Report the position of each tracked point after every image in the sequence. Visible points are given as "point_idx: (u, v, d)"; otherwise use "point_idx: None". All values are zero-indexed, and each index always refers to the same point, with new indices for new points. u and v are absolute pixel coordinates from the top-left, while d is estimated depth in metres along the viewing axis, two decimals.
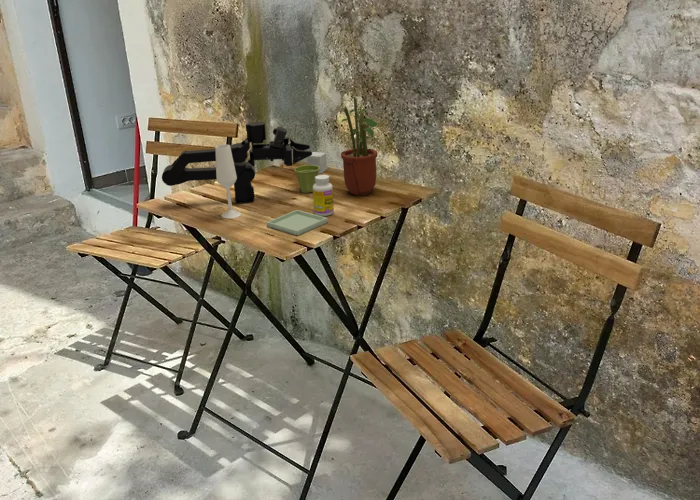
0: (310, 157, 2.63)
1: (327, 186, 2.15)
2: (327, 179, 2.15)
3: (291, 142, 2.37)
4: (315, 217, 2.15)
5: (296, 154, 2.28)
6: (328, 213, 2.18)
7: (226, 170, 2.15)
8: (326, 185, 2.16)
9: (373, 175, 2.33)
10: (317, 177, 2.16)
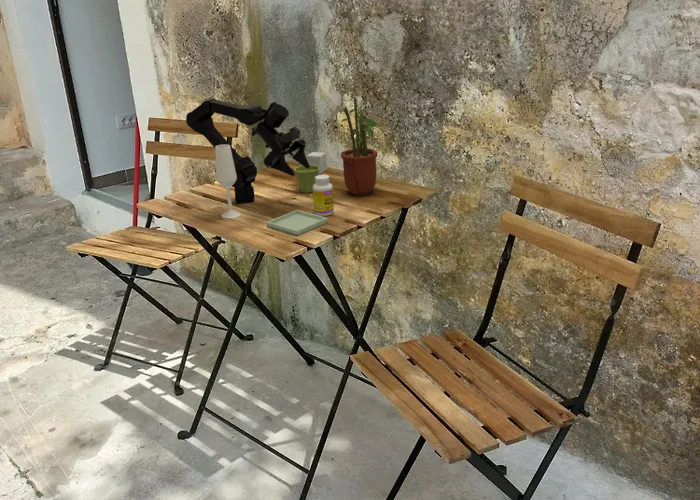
0: (310, 157, 2.63)
1: (327, 186, 2.15)
2: (327, 179, 2.15)
3: (300, 149, 2.23)
4: (315, 217, 2.15)
5: (281, 163, 2.15)
6: (328, 213, 2.18)
7: (226, 170, 2.15)
8: (326, 185, 2.16)
9: (373, 175, 2.33)
10: (317, 177, 2.16)
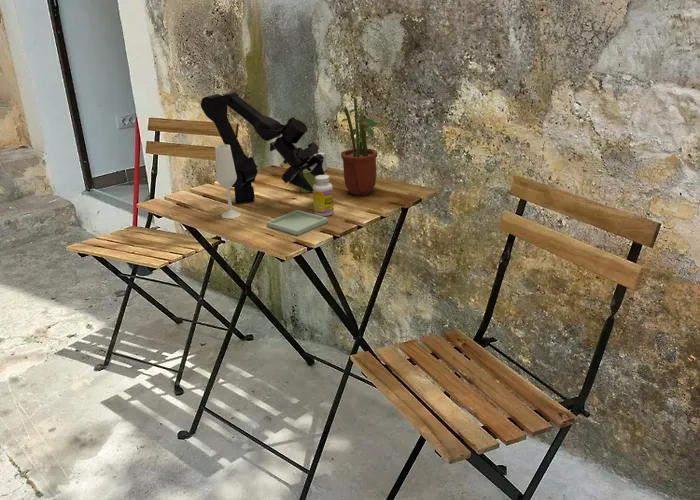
0: None
1: (327, 186, 2.15)
2: (327, 179, 2.15)
3: (318, 165, 2.21)
4: (315, 217, 2.15)
5: (299, 179, 2.14)
6: (328, 213, 2.18)
7: (226, 170, 2.15)
8: (326, 185, 2.16)
9: (373, 175, 2.33)
10: (317, 177, 2.16)
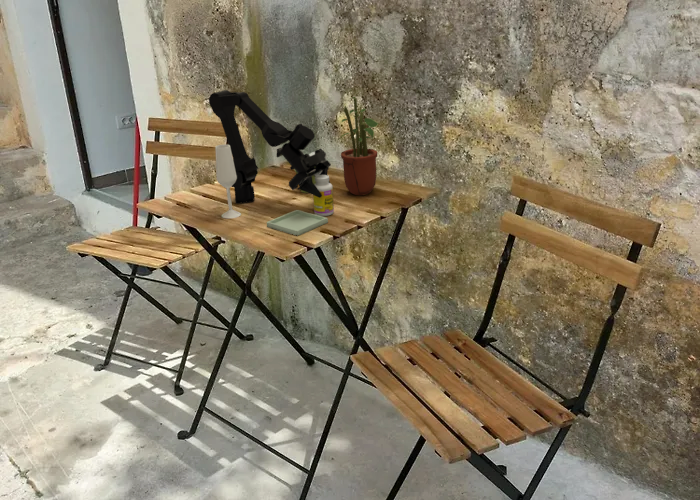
0: None
1: (327, 186, 2.15)
2: (327, 179, 2.15)
3: (323, 172, 2.20)
4: (315, 217, 2.15)
5: (308, 184, 2.14)
6: (328, 213, 2.18)
7: (226, 170, 2.15)
8: (326, 185, 2.16)
9: (373, 175, 2.33)
10: (317, 177, 2.16)
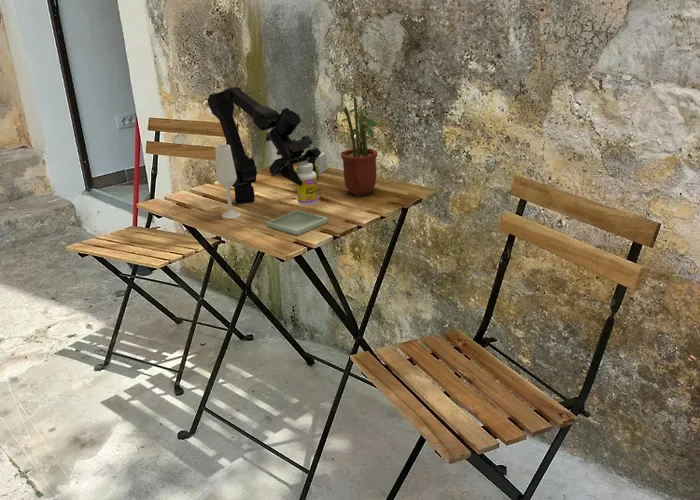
0: None
1: (309, 175, 2.07)
2: (309, 168, 2.07)
3: (309, 160, 2.12)
4: (315, 217, 2.15)
5: (289, 171, 2.07)
6: (310, 203, 2.10)
7: (226, 170, 2.15)
8: (308, 174, 2.07)
9: (373, 175, 2.33)
10: (300, 165, 2.08)
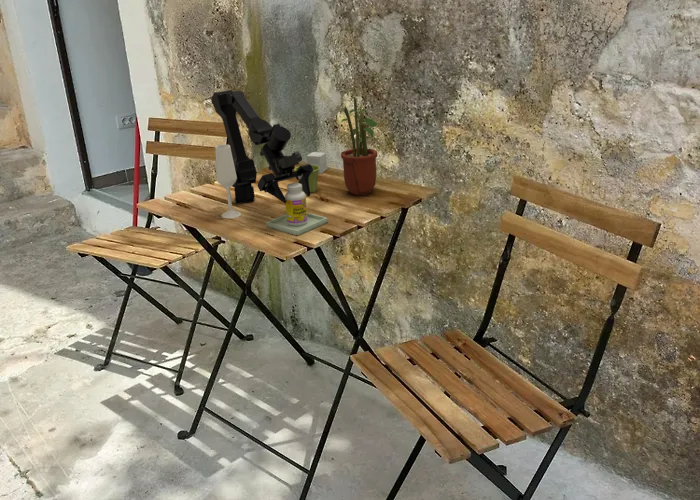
0: (310, 157, 2.63)
1: (296, 196, 2.06)
2: (297, 188, 2.06)
3: (303, 175, 2.11)
4: (315, 217, 2.15)
5: (274, 188, 2.06)
6: (297, 223, 2.09)
7: (226, 170, 2.15)
8: (296, 194, 2.06)
9: (373, 175, 2.33)
10: (289, 185, 2.08)
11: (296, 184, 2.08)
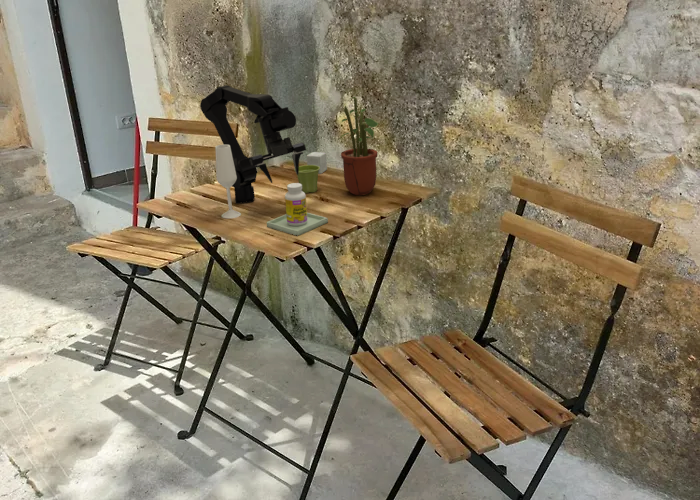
0: (310, 157, 2.63)
1: (296, 196, 2.06)
2: (297, 188, 2.06)
3: (294, 155, 2.18)
4: (315, 217, 2.15)
5: None
6: (297, 223, 2.09)
7: (226, 170, 2.15)
8: (296, 194, 2.06)
9: (373, 175, 2.33)
10: (289, 185, 2.08)
11: (296, 184, 2.08)
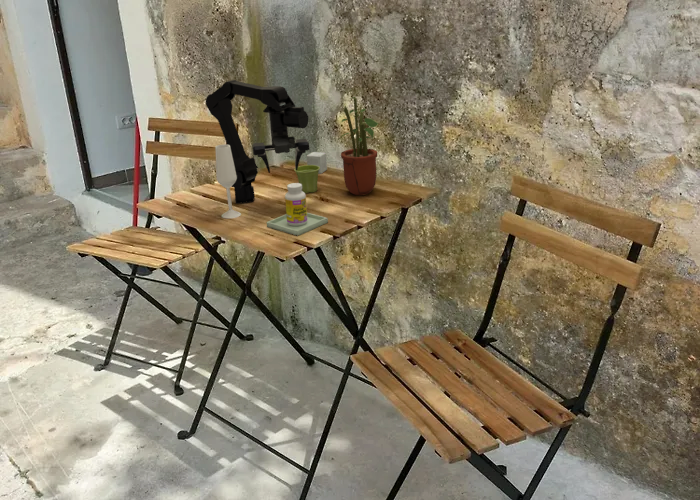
0: (310, 157, 2.63)
1: (296, 196, 2.06)
2: (297, 188, 2.06)
3: (296, 152, 2.20)
4: (315, 217, 2.15)
5: None
6: (297, 223, 2.09)
7: (226, 170, 2.15)
8: (296, 194, 2.06)
9: (373, 175, 2.33)
10: (289, 185, 2.08)
11: (296, 184, 2.08)
